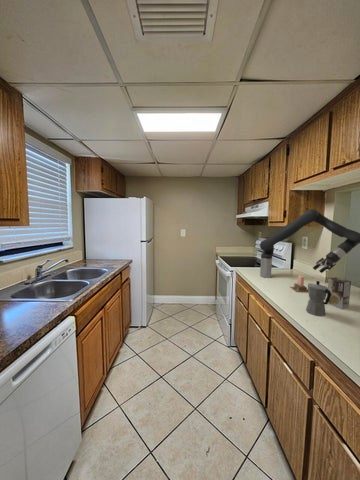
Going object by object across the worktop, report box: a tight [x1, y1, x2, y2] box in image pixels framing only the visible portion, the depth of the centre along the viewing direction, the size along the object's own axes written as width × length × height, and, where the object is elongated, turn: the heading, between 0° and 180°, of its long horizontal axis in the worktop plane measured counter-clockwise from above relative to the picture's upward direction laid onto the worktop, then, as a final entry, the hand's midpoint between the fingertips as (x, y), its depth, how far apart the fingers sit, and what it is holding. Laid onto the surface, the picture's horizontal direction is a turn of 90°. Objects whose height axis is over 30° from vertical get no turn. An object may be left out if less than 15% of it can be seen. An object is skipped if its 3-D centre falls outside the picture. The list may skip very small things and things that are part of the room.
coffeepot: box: [305, 280, 331, 317], centre depth 112 cm, size 15×9×18 cm, turn 6°
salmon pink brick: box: [296, 274, 305, 287], centre depth 148 cm, size 5×2×10 cm, turn 173°
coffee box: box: [327, 277, 352, 310], centre depth 123 cm, size 9×6×16 cm
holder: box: [289, 282, 308, 294], centre depth 148 cm, size 12×10×5 cm
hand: (316, 270), depth 146 cm, fingers open, 8 cm apart
